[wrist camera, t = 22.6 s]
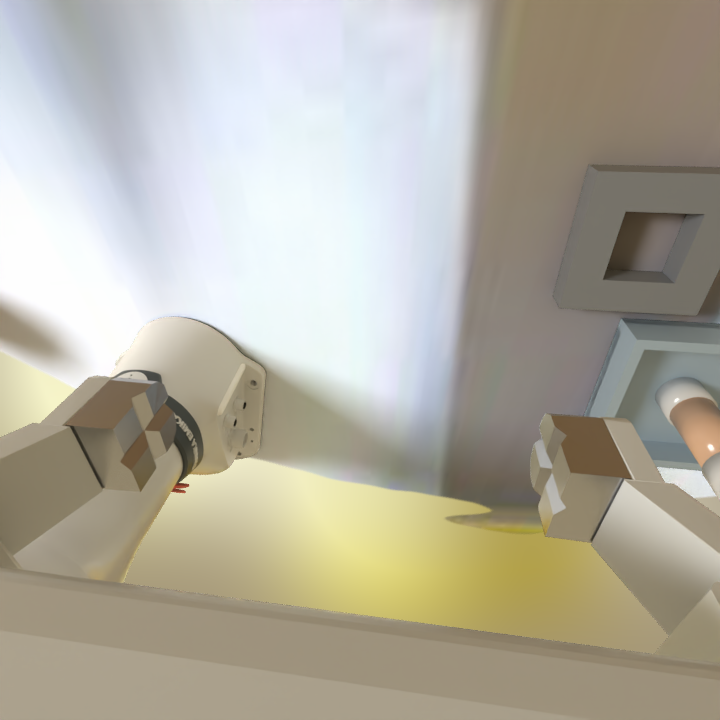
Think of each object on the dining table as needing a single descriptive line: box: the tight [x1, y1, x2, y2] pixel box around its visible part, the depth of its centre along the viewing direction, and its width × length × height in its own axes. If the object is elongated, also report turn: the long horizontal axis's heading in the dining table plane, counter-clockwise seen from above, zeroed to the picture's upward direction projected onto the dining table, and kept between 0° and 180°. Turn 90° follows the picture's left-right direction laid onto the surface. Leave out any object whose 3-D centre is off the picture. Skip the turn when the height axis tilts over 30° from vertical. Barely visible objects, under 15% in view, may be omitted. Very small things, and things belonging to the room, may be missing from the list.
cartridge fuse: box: [655, 377, 720, 500], centre depth 41 cm, size 4×4×13 cm
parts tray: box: [584, 318, 720, 471], centre depth 46 cm, size 16×16×4 cm
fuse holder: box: [553, 165, 720, 316], centre depth 38 cm, size 12×12×2 cm
